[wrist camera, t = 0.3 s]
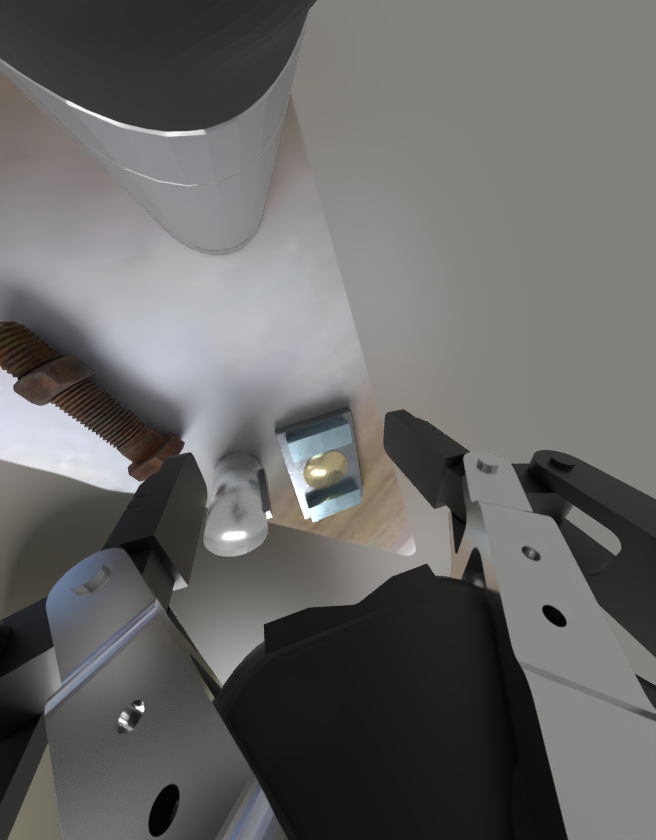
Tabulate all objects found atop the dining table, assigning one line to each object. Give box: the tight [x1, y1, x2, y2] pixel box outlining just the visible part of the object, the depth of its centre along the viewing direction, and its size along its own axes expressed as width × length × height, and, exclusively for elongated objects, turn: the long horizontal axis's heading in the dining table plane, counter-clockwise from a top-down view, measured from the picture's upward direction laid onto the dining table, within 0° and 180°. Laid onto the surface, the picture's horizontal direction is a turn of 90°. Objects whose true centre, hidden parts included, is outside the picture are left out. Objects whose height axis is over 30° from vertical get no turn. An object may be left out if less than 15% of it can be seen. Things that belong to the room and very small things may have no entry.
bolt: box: [0, 321, 185, 481], centre depth 21 cm, size 6×5×15 cm
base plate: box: [275, 408, 363, 522], centre depth 33 cm, size 16×10×3 cm, turn 10°
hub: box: [204, 452, 272, 556], centre depth 26 cm, size 6×6×10 cm
